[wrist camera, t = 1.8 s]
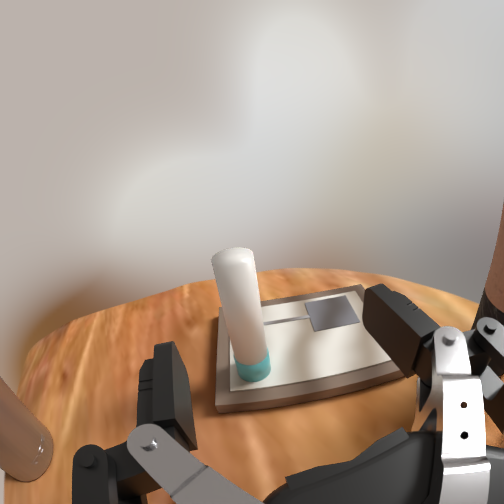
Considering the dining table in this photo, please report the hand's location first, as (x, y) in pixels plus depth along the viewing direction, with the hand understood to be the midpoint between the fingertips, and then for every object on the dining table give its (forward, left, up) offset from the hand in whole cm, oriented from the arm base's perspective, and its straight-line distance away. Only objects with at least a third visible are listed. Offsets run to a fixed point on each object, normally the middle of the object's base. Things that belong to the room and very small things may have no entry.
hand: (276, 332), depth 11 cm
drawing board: (+4, +15, -17) cm, 23 cm away
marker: (-2, +11, -15) cm, 19 cm away
